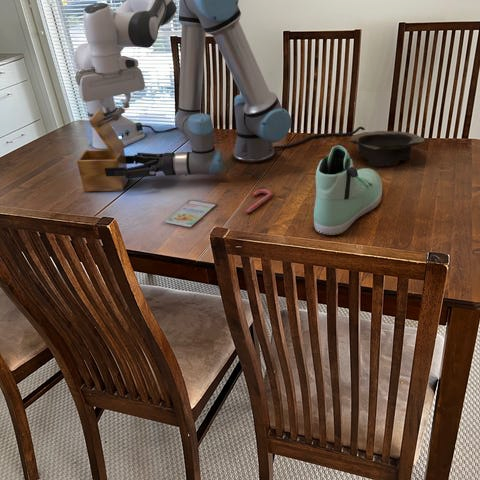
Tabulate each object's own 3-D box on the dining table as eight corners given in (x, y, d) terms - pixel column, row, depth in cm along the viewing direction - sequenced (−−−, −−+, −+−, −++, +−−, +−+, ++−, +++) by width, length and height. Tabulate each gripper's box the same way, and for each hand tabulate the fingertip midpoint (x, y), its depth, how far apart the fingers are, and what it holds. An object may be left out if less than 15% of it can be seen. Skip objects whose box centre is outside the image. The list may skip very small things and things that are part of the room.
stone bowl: (382, 177, 154) (383, 149, 150) (334, 159, 175) (334, 134, 170) (439, 158, 163) (441, 131, 159) (387, 143, 183) (387, 119, 179)
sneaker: (389, 187, 148) (396, 123, 138) (356, 242, 123) (361, 168, 112) (346, 181, 154) (350, 119, 144) (306, 232, 129) (307, 161, 118)
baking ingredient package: (164, 221, 138) (191, 199, 150) (164, 222, 139) (191, 201, 150) (190, 226, 135) (215, 203, 146) (190, 227, 135) (215, 205, 147)
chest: (84, 191, 161) (76, 161, 155) (91, 179, 169) (85, 149, 163) (123, 190, 161) (117, 160, 155) (129, 178, 168) (123, 149, 162)
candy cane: (232, 210, 143) (232, 206, 142) (259, 190, 153) (259, 186, 152) (249, 215, 140) (248, 210, 139) (276, 194, 150) (275, 190, 149)
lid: (88, 120, 148) (111, 108, 145) (96, 110, 155) (118, 99, 153) (115, 159, 154) (137, 148, 152) (121, 147, 162) (143, 137, 160)
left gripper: (76, 72, 137) (87, 119, 144) (142, 59, 146) (150, 105, 153) (70, 68, 141) (81, 115, 148) (134, 57, 150) (142, 101, 157)
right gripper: (170, 188, 151) (102, 190, 153) (183, 161, 170) (122, 163, 172) (167, 166, 147) (97, 168, 150) (180, 141, 166) (118, 143, 168)
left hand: (116, 110), depth 151 cm, fingers open, 5 cm apart
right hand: (110, 166), depth 161 cm, fingers closed on chest, 10 cm apart
